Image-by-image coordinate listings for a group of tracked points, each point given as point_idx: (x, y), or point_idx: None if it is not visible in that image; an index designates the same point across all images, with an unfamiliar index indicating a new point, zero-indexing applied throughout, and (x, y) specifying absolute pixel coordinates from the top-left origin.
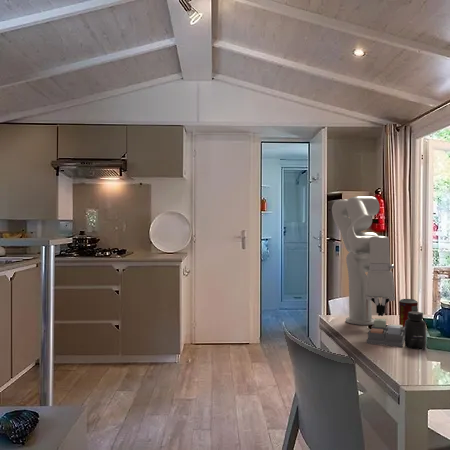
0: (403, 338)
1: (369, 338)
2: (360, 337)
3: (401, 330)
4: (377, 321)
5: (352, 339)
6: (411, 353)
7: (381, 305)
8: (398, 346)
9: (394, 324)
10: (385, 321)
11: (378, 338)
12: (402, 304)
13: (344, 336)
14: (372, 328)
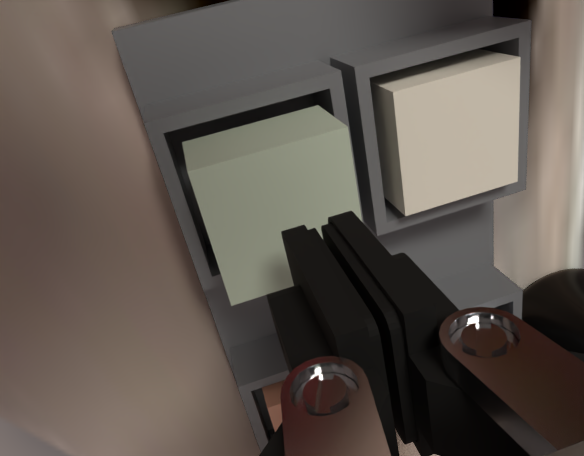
0: (490, 268)
1: (271, 436)
2: (142, 355)
3: (495, 192)
4: (273, 285)
5: (124, 440)
6: None
7: (427, 430)
8: None
9: (427, 85)
10: (355, 204)
11: None
12: None
13: (8, 416)
14: (274, 411)
